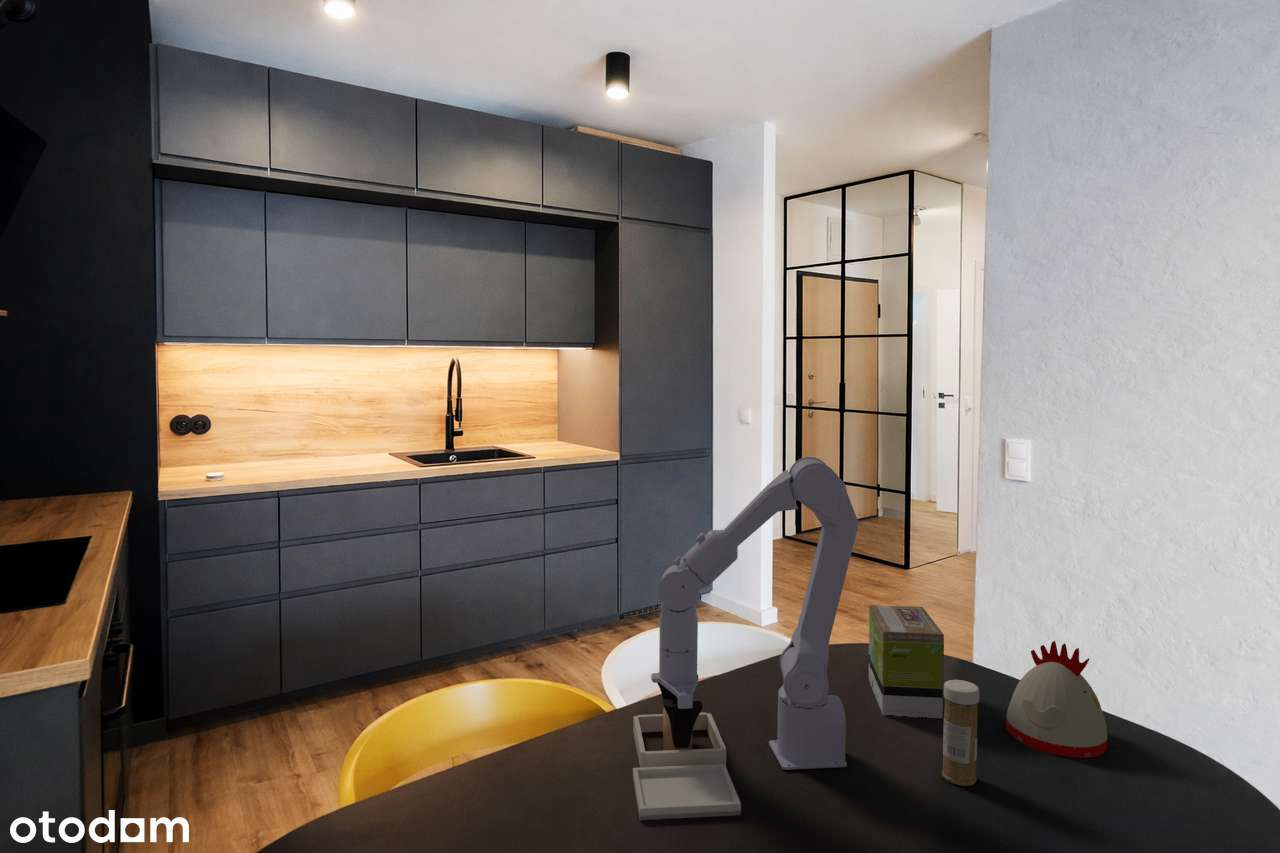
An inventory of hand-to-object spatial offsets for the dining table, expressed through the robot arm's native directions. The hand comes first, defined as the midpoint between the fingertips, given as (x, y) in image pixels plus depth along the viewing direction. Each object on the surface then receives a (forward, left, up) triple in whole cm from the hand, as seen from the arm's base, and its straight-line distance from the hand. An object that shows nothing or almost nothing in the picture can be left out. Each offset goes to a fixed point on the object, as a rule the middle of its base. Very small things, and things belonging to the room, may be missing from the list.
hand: (677, 734), depth 112 cm
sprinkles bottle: (-38, +12, -2) cm, 40 cm away
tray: (+1, +13, -2) cm, 13 cm away
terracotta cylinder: (0, 0, -2) cm, 2 cm away
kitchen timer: (-60, +1, -2) cm, 60 cm away
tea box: (-42, -14, -2) cm, 44 cm away
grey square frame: (0, 0, -2) cm, 2 cm away
